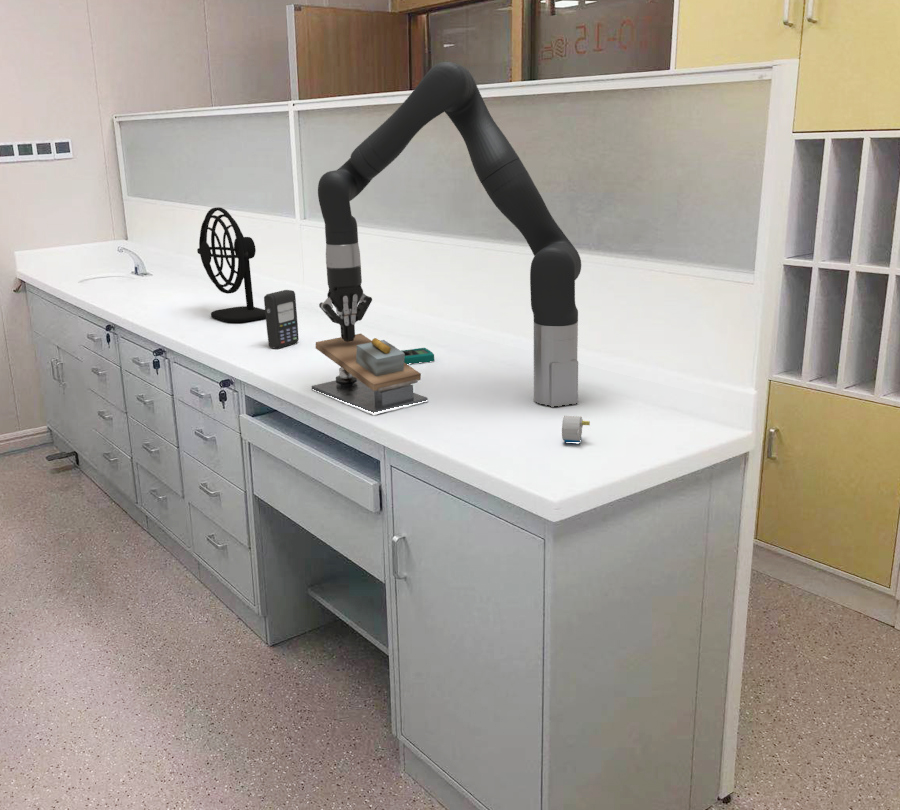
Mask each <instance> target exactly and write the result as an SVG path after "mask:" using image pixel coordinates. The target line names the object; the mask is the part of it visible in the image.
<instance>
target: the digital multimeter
mask: <svg viewBox="0 0 900 810" xmlns="http://www.w3.org/2000/svg"><path fill="white" fill-rule="evenodd" d="M401 351H402V352H403V353H405V358H404V363H406V364H409V363H419V362H428V363H431V362H430V361H434V362H435V354H434V353H433V352H432V351H431V350H429V349H428V348H426V347H418V348H411V349H403V350H401ZM419 364H420V363H419Z"/></svg>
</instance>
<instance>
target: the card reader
mask: <svg viewBox="0 0 900 810" xmlns="http://www.w3.org/2000/svg"><path fill="white" fill-rule="evenodd" d="M296 299H297V298H296V292H295V291H294V290H293V289H292V290H291V289H284V290H279V291H275V292H271V293H266V294H265V295H264V297H263V301H264V305H263V306H264V310H265V315H266V318H265V323H266V333H267V340H268V347H270V348H271V349H281V348H285V347H288V346H291V345H294V344H297V343H298V342H299V327H298V314H297V300H296Z"/></svg>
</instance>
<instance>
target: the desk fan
mask: <svg viewBox="0 0 900 810" xmlns="http://www.w3.org/2000/svg"><path fill="white" fill-rule="evenodd" d="M217 211H218V212H220V213H222V214H219V215H214V214H215V213H216V212H217ZM222 218H227V220H228V222H229V223H230V224H229V225H226V224H225V222H224V221H223V220H222ZM211 219H214V221H213V223H212V227H209V226H210V225H209V224H210V221H211ZM218 223H219V224H220V225H221V227H222V229H223V230H224V231H223V232H224V233H223V237H222V243H221V240H220V238H219V236H218V233H216V228H217V226H218V225H217V224H218ZM231 227H232V229H233V232H234V234H235V235H234V236H235V239H234V242H233V240H232V239H233V238H232V237H231V234H230V231H229V229H230V228H231ZM208 230H209V231H211V234H210V237H211V238H210V244H211V245H209V243H208ZM199 233H200V234H199V243H198V247H199V248H197V250H196V251H197V254H199V256H200V260H201V262H202V263H201V264H202V266H203V268H204V269H205V271H206V274H207V276H208V278H209V279H210V281H211V282H212V283H213V284H214V286H215V287H216V288H217V289H218V291H219V292H221V293H224V294H234V293H236V292H237V291H238V290H239V288H241V285H242V283H244V293H245V302H246V305H245V306H244V305H243V306H234V307H228V308H222V309H221V308H220V309H215V310H213V311H212V312H210V316H211V317H212V318H214V319H215V320H216V319H217V320H220V321H223V322H226V323H246V322H252V321H257V320H258V321H259V320H262V319H266V315H265V308H259V307H255V305H254V304H255V303H254V295H253V286H252V277H251V276H252V275H251V264H250V259H253V258H255V255H256V252H257V251H256V250H257V249H256V245H255V241H254V239H253V238H252V237H250V236H244V234H243V233H242V230H241V229H240V227H239V225H238V223H237V221H236V220H235V219H234V218H233V216H232V215H231V214H230V213H229V212H228V210H227V209H225V208H223V207H219V206H218V207H213V208H211V209H209V210H208V211H207V213H205V217H204V220H203V222H202V224H201V227H200V231H199ZM226 238H227V241H228V245H229V247H227V246H226ZM215 240H216V241H217V244H218V246H216V241H215ZM217 250H218V251H219V253H218V254H217V252H216V251H217ZM227 251H229V252H230V254H228V253H227ZM212 258H213V261H214V264H215V265H214V266H215V267H216V269H217V273H216V274H215V273H214V270H213V269H212V265H211V263H212ZM218 258H220V264H219V261H218ZM224 259H225V261H226V263H227V265H228V267H229V269H230V273H229V277H228V278H227V277H226V276H225V274H224V273H223V267H224ZM229 259H230V260H231V261H229ZM236 259H237V260H238V261H237V263H238V264H237V270H236ZM235 274H236V276H235ZM219 276H220V277H221V278H222V281H224V282H225V283H224V284H221V283H220V282H219V281H218V279H217V277H219ZM234 276H235V280H234V282H232V281H233V279H234ZM228 286H231V287H230V288H229V289H226V287H228Z"/></svg>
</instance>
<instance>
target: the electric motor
mask: <svg viewBox="0 0 900 810" xmlns="http://www.w3.org/2000/svg"><path fill="white" fill-rule="evenodd" d="M562 418H563V419H562V421H561V422H562V425H561V439H562V440H563V441H564V443H565V442H580V440H581V441H582V435H583V434H582V433H583V427H584V426H590V423H591V421H590V420H584V419H583V418H582V416H577V415H576V416H575V415H563V417H562Z"/></svg>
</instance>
